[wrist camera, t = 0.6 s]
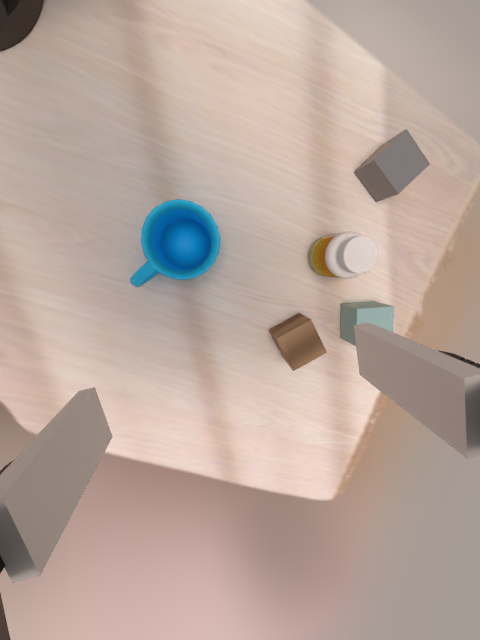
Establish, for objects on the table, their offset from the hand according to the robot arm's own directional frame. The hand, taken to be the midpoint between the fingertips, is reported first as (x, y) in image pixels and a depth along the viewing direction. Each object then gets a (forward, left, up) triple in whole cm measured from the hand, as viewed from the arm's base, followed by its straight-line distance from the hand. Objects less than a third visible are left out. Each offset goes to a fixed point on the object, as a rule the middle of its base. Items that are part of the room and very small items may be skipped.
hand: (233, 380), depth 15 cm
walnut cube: (+7, +9, -27) cm, 29 cm away
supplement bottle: (-3, +16, -27) cm, 32 cm away
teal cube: (+7, +19, -27) cm, 34 cm away
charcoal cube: (-12, +25, -27) cm, 39 cm away
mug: (-8, -4, -27) cm, 28 cm away
